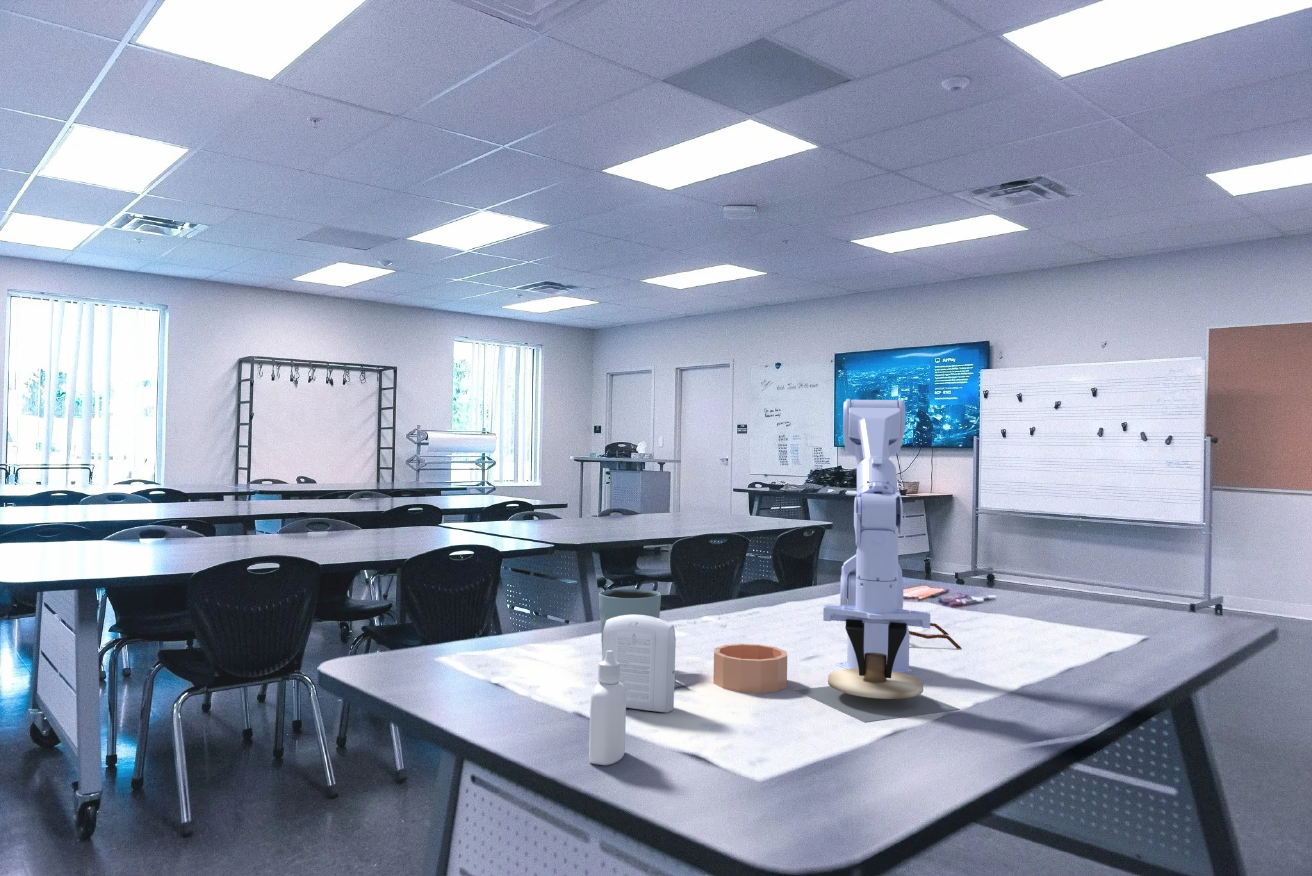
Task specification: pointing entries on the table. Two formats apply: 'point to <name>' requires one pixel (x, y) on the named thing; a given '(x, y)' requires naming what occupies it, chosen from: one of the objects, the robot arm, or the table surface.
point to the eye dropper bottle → (607, 714)
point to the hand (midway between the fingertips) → (875, 675)
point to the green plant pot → (627, 604)
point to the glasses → (936, 635)
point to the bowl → (750, 668)
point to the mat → (876, 704)
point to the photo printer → (643, 659)
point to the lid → (875, 680)
